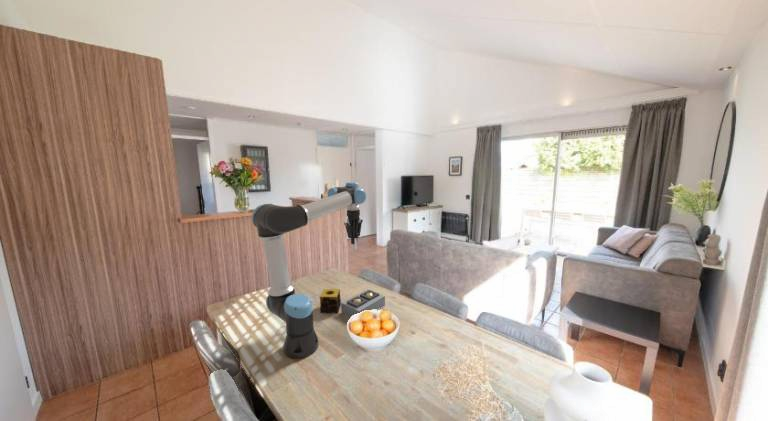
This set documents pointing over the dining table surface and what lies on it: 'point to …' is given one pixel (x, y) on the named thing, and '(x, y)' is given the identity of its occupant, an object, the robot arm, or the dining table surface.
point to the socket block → (362, 303)
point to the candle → (330, 301)
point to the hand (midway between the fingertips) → (354, 248)
